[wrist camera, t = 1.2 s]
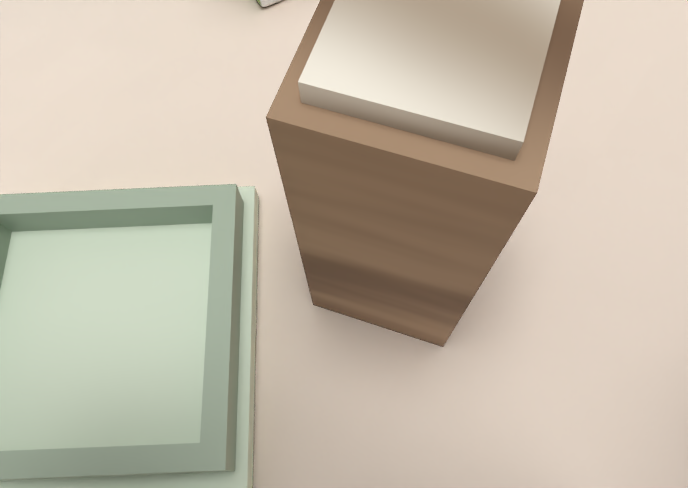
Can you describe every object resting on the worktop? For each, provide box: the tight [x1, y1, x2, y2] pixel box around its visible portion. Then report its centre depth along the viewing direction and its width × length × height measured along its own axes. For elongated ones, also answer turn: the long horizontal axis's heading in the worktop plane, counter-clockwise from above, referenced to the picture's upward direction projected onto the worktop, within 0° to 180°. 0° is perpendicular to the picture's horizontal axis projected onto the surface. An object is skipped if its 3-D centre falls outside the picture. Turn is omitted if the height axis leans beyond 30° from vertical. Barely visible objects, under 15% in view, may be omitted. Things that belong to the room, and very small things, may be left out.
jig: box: [0, 184, 259, 488], centre depth 20 cm, size 11×10×2 cm
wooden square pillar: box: [266, 0, 584, 347], centre depth 16 cm, size 5×5×13 cm
